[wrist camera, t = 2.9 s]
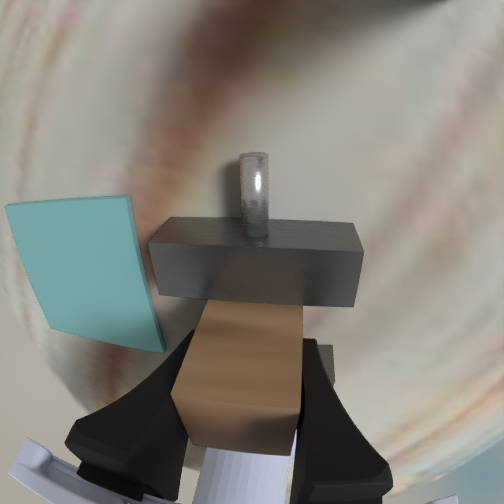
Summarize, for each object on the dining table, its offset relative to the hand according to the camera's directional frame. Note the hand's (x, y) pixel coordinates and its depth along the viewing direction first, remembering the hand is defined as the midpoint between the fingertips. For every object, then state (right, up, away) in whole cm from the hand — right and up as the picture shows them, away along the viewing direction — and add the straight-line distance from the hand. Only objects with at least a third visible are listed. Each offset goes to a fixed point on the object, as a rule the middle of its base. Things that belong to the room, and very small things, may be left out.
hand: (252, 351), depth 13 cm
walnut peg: (0, +1, +3) cm, 3 cm away
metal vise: (0, +3, +2) cm, 3 cm away
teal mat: (-11, +3, +3) cm, 11 cm away
